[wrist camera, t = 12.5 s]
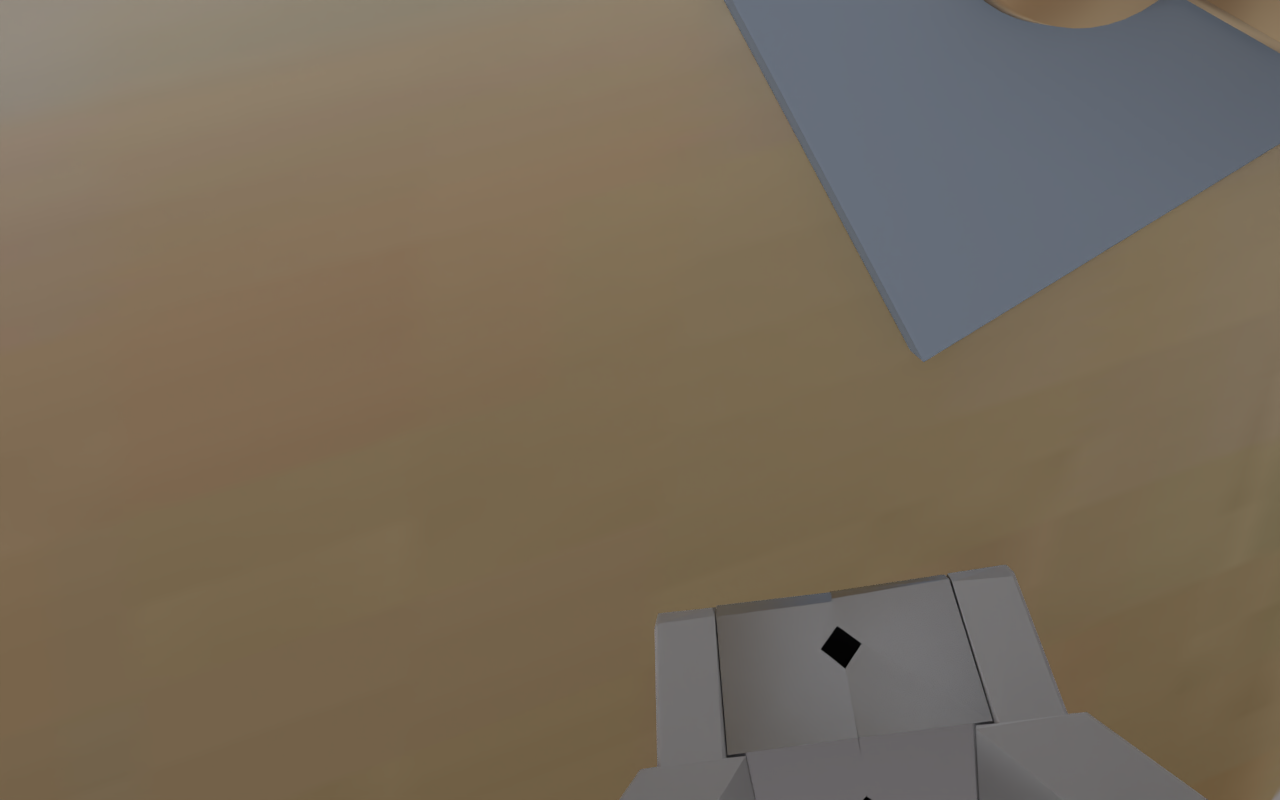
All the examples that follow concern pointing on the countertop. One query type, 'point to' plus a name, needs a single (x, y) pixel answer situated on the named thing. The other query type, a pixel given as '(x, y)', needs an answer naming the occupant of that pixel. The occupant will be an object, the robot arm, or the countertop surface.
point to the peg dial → (1253, 3)
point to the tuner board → (1005, 137)
